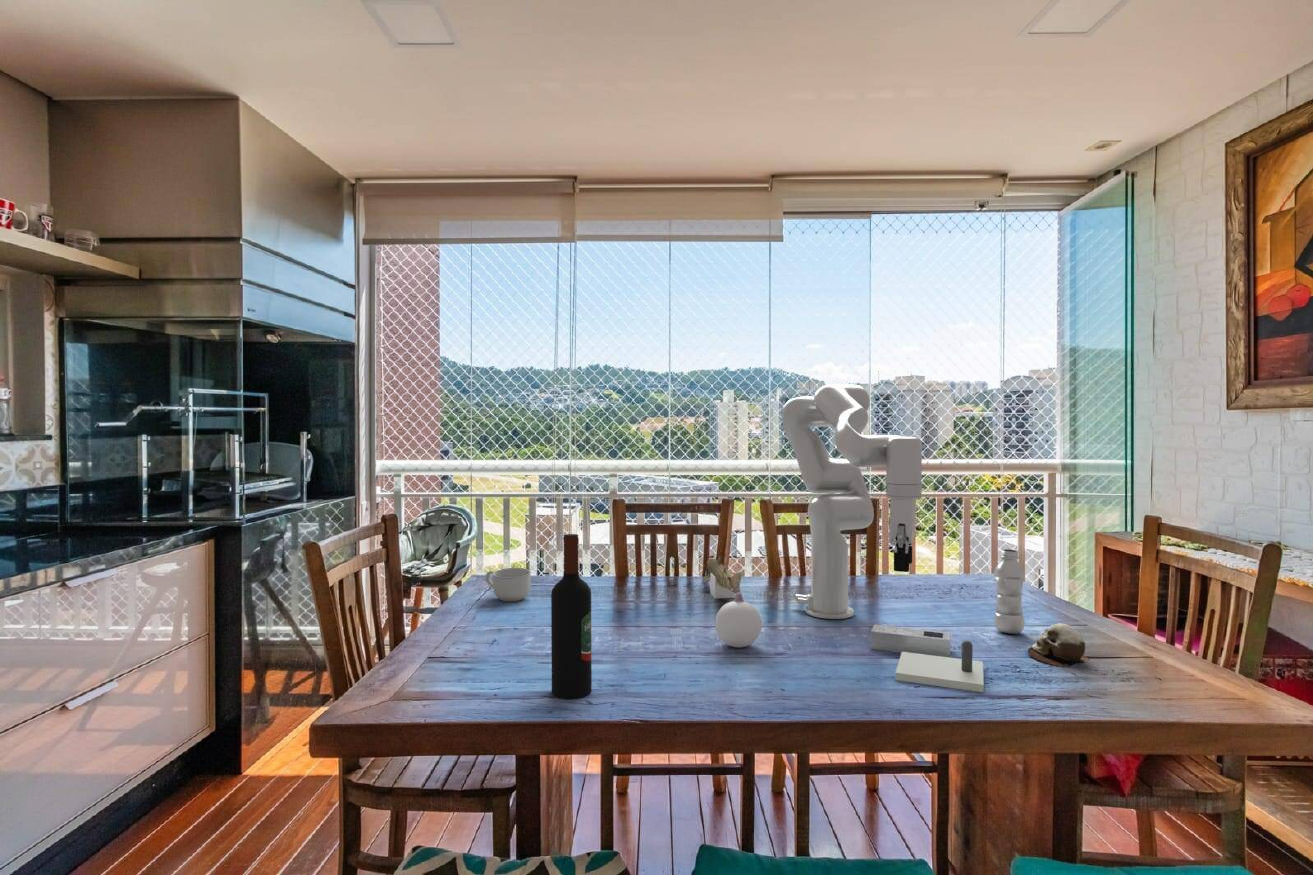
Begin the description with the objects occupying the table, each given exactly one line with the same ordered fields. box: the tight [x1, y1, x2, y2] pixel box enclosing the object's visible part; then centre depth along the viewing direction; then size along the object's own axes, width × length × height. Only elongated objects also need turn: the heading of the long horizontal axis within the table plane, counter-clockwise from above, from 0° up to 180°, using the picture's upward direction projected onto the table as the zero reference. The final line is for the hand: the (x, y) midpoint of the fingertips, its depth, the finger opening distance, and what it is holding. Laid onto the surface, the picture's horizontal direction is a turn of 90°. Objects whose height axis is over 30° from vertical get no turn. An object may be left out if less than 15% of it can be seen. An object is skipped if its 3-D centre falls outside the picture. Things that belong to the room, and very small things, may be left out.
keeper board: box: [894, 640, 985, 693], centre depth 147 cm, size 16×14×8 cm
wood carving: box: [702, 556, 743, 599], centre depth 210 cm, size 9×35×11 cm, turn 8°
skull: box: [1027, 622, 1092, 668], centre depth 157 cm, size 12×10×10 cm
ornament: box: [714, 593, 763, 648], centre depth 165 cm, size 10×10×12 cm
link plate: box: [870, 624, 952, 658], centre depth 163 cm, size 16×6×4 cm, turn 66°
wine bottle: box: [550, 533, 593, 700], centre depth 138 cm, size 8×8×30 cm
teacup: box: [485, 567, 532, 603], centre depth 209 cm, size 14×11×8 cm
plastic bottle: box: [993, 548, 1025, 635], centre depth 175 cm, size 6×7×20 cm
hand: (903, 567), depth 163 cm, fingers open, 9 cm apart
